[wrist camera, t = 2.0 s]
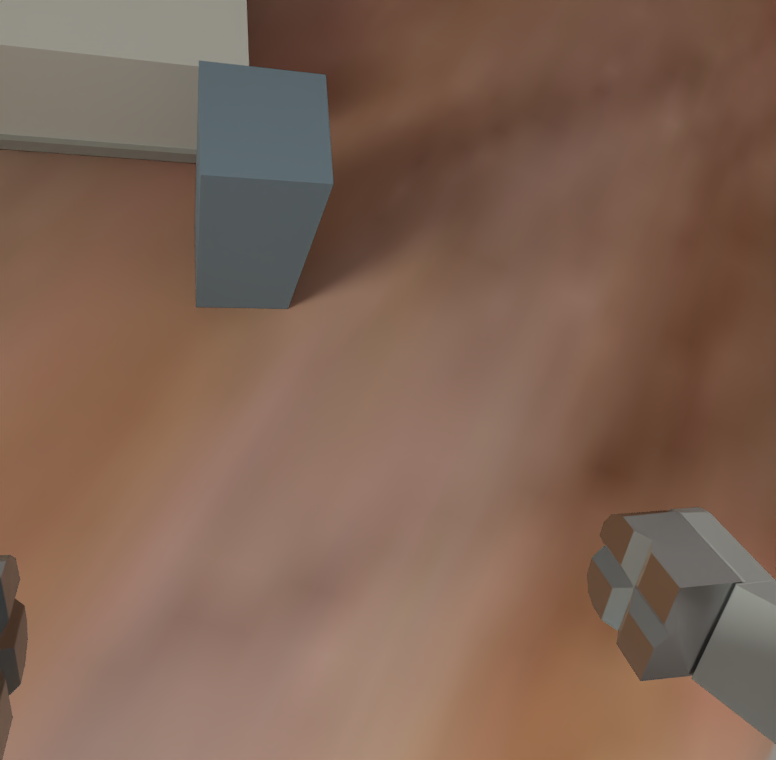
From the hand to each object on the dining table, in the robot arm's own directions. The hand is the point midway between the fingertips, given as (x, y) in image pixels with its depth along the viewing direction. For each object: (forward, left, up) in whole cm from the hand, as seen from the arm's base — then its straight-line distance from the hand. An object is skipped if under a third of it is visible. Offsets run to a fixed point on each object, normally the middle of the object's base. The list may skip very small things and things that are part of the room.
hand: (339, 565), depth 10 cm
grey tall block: (+1, +15, -24) cm, 28 cm away
